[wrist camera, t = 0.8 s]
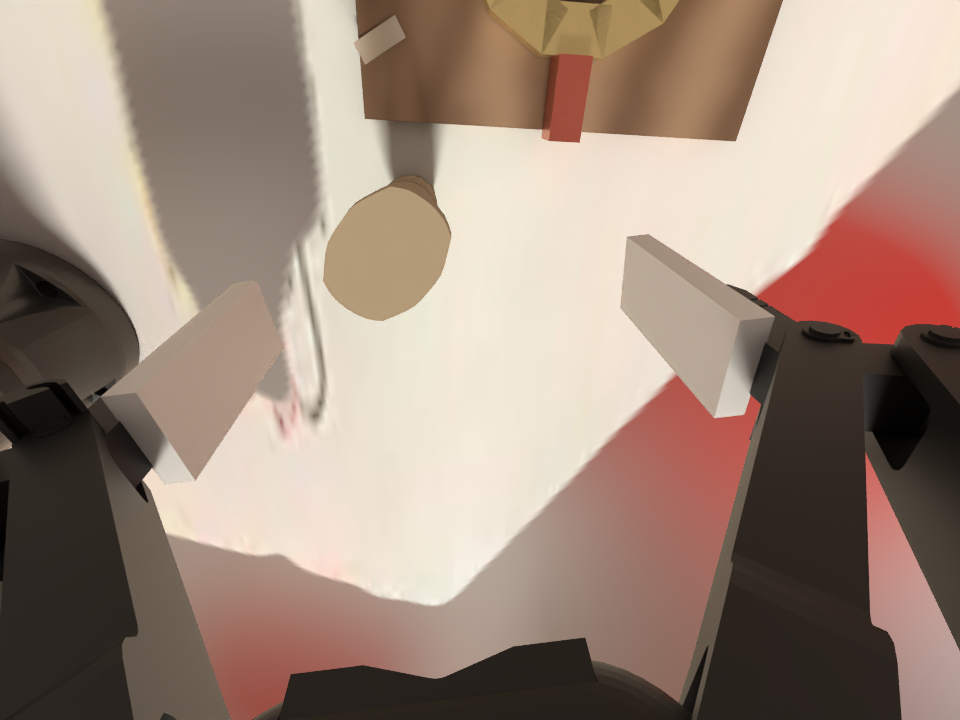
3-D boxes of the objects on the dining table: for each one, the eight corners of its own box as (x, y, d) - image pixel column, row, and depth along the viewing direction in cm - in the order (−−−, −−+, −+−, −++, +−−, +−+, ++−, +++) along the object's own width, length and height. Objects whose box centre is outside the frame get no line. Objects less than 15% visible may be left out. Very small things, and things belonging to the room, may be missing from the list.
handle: (363, 208, 32) (301, 278, 19) (413, 136, 29) (381, 162, 17) (414, 248, 34) (389, 337, 21) (465, 184, 31) (472, 239, 19)
